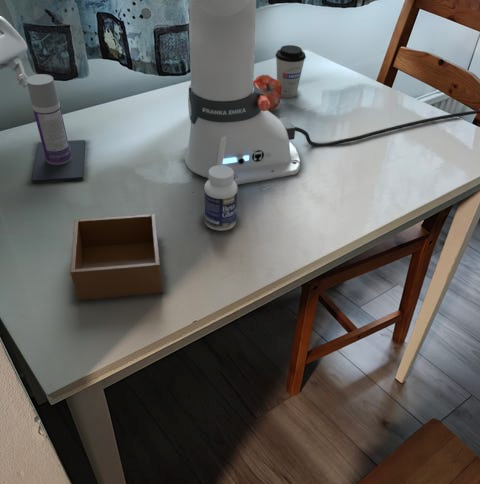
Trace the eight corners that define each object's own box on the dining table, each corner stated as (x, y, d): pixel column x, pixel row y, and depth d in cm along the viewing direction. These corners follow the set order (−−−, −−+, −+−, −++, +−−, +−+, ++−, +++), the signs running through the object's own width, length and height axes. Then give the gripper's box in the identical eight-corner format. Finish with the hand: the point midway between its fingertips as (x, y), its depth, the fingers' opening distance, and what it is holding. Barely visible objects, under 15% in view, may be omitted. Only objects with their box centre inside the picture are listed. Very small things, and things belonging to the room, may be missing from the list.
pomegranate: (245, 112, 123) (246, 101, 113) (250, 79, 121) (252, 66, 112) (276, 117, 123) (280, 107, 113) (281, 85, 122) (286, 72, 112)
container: (48, 152, 102) (28, 73, 91) (73, 152, 102) (56, 73, 91) (44, 165, 99) (23, 85, 88) (69, 165, 99) (51, 85, 88)
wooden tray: (157, 241, 85) (155, 213, 81) (162, 292, 77) (159, 264, 73) (81, 247, 84) (74, 219, 80) (77, 300, 75) (70, 272, 71)
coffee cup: (268, 88, 127) (272, 44, 120) (296, 86, 128) (301, 42, 121) (277, 100, 122) (281, 55, 115) (305, 98, 124) (310, 53, 116)
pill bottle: (225, 235, 87) (225, 184, 80) (198, 224, 89) (197, 173, 82) (242, 219, 90) (244, 169, 83) (216, 209, 92) (216, 158, 85)
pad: (85, 142, 106) (84, 139, 106) (83, 180, 97) (82, 177, 96) (39, 144, 105) (38, 142, 105) (32, 183, 96) (31, 180, 95)
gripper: (-97, 32, 81) (-27, 108, 86) (-5, -2, 94) (52, 65, 99) (-106, 57, 86) (-39, 127, 90) (-16, 21, 99) (39, 84, 103)
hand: (9, 94), depth 95 cm, fingers open, 8 cm apart
